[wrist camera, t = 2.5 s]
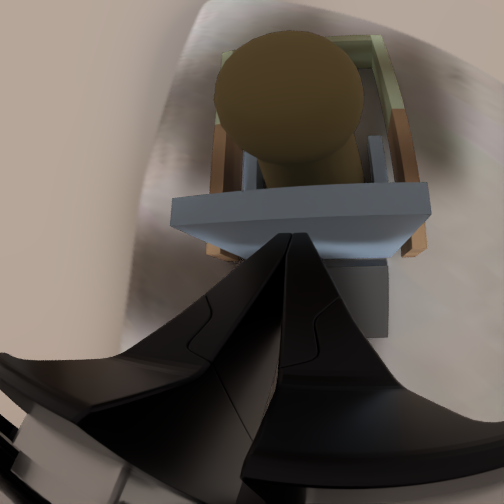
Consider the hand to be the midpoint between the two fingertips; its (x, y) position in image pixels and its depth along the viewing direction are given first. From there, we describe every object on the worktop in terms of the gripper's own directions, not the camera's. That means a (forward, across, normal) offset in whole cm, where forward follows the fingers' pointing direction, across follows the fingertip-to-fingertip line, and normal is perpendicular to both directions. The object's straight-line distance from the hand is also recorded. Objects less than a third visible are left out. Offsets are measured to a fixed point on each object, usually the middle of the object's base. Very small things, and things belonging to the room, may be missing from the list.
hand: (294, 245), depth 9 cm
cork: (+10, 0, +3) cm, 11 cm away
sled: (+10, 0, +3) cm, 10 cm away
